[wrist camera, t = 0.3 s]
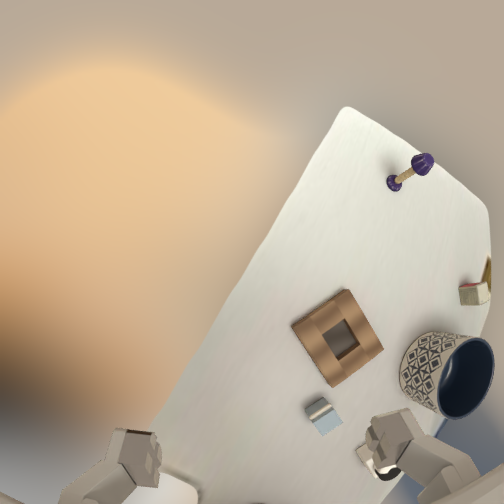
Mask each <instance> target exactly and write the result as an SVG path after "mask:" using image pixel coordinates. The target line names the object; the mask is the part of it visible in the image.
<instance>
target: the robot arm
mask: <svg viewBox="0 0 504 504" xmlns="http://www.w3.org/2000/svg"><path fill="white" fill-rule="evenodd" d="M370 422H371V426H370V427H369V428H368V429H367V431H366V439H365V440H366V444H367V447H368V449H369V450H371V451H372V452H374V453H373V455H372V459H373V462H374V464H375V467H376V469H381V468H385V467H389V466H392V465H395V466H397V467H398V468H399V469H401V470H402V471H403V472H404V473H406V474H407V475H409V476H410V477H411V478H413V479H414V480H415V481H417V482H418V483H419V484H421V485H422V486H424V487H425V489H424V490H423V491H422V492H421V493H420V494H419V495H418V497H417V500H418V502H419V504H504V463H502V464H501V465H499V466H498V467H496V468H495V469H493V470H491V471H490V472H489V473H487V474H485V475H483V476H482V477H481V475H480V473H479V471H478V470H477V468H476V467H475V465H474V463H473V461H472V460H471V458H470V457H469V455H467V454H465V453H463V452H461V451H459V450H457V449H455V448H453V447H451V446H449V445H447V444H445V443H443V442H441V441H439V440H437V439H436V438H434V437H432V436H430V435H425V434H424V432H423V431H422V429H421V427H420V426H419V424H418V422H417V421H416V419H415V417H414V415H413V414H412V412H411V410H410V409H409V408H404V409H400V410H397V411H392V412H388V413H384V414H380V415H376V416H374V417H372V419H371V421H370ZM156 438H157V437H156V435H155V432H146V431H137V430H129V429H122V428H115V430H114V431H113V433H112V437H111V440H110V443H109V447H108V450H107V453H106V457H105V460H104V461H103V460H100V461H99V462H98V463H97V464H95V465H94V466H93V467H92V468H90V469H89V470H88V471H87V472H85V473H84V474H83V475H81V476H80V477H79V478H77V479H76V480H75V481H74V482H72V483H71V484H70V485H68V486H67V487H66V488H65V489H63V490H62V492H61V495H60V499H59V502H58V504H121V503H122V502H123V501H124V500H125V499H126V498H127V497H128V496H129V495H130V494H131V493H132V492H133V490H134V489H135V488H136V487H137V486H145V487H154V488H158V483H159V476H160V474H159V472H158V470H157V468H158V467H159V466H160V465H161V462H162V451H161V447H160V444H159V443H158V442H156ZM0 504H24V503H22V502H20V501H18V500H15V499H13V498H11V497H9V496H7V495H5V494H4V493H2V492H0Z"/></svg>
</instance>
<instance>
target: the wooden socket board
mask: <svg viewBox="0 0 504 504" xmlns="http://www.w3.org/2000/svg"><path fill="white" fill-rule="evenodd" d="M291 327H292V329H293V330H294V332H295V333H296V335H297V336H298V338H299V340H300V341H301V343H302V344H303V346H304V347H305V349H306V350H307V352H308V353H309V355H310V356H311V358H312V359H313V361H314V363H315V364H316V366H317V367H318V369H319V370H320V372H321V373H322V375H323V376H324V378H325V379H326V381H327V382H328V384H329V385H330V386H331V387H332V388H334V387H335V386H336V385H338V384H339V383H341V382H342V381H343V380H345V379H346V378H348V377H349V376H350V375H352V374H353V373H354V372H356V371H357V370H358V369H360V368H361V367H362V366H364V365H365V364H366V363H367V362H369V361H370V360H371V359H373V358H374V357H375V356H376V355H378V354H379V353H380V352H381V351H383V350H384V348H383V346H382V345H381V343H380V341H379V339H378V338H377V336H376V334H375V332H374V331H373V329H372V327H371V325H370V324H369V322H368V320H367V319H366V317H365V315H364V313H363V312H362V310H361V308H360V307H359V305H358V303H357V302H356V300H355V298H354V297H353V295H352V293H351V292H350V290H349V289H345V290H343V291H341V292H340V293H339V294H337V295H336V296H335V297H333V298H332V299H330V300H329V301H328V302H326V303H325V304H323V305H322V306H320V307H319V308H318V309H316V310H315V311H313V312H312V313H310V314H309V315H307V316H306V317H305V318H303V319H302V320H300V321H299V322H297V323H296V324H294V325H293V326H291Z"/></svg>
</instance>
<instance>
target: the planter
mask: <svg viewBox="0 0 504 504" xmlns="http://www.w3.org/2000/svg"><path fill="white" fill-rule="evenodd" d="M493 374H494V355H493V351H492V349H491V347H490V345H489V344H488V343H487V342H486V341H485V340H484V339H482V338H478V337H472V336H465V335H457V334H450V333H443V332H429V333H426V334H424V335H422V336H421V337H419V338H418V339H417V340H416V341H415V342H414V343H413V344H412V345H411V346H410V348H409V349H408V351H407V352H406V354H405V356H404V359H403V361H402V365H401V370H400V383H401V387H402V389H403V391H404V393H405V394H406V396H408V397H409V398H410V399H412V400H414V401H415V402H417V403H419V404H421V405H423V406H425V407H426V408H428V409H430V410H432V411H434V412H436V413H438V414H440V415H441V416H443V417H445V418H447V419H451V420H457V419H461V418H463V417H466V416H468V415H469V414H470V413H472V412H473V411H474V410H475V409H476V408H477V407H478V406H479V405H480V404H481V402H482V401H483V399H484V398H485V396H486V394H487V392H488V390H489V388H490V385H491V382H492V379H493Z"/></svg>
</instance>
